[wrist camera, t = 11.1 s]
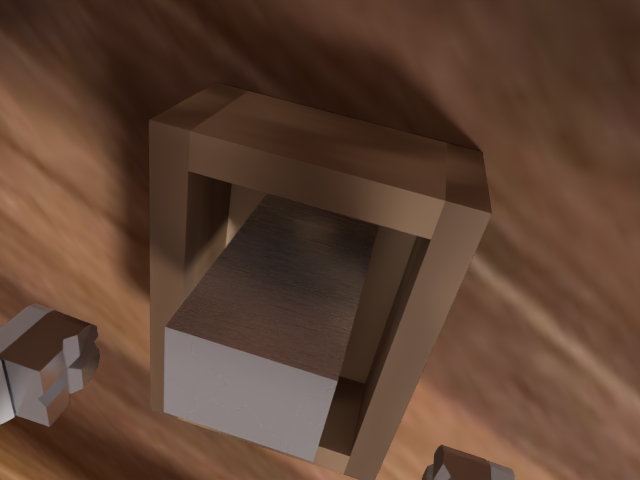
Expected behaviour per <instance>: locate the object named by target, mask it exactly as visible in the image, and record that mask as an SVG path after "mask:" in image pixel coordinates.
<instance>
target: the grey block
mask: <svg viewBox="0 0 640 480" xmlns="http://www.w3.org/2000/svg"><path fill="white" fill-rule="evenodd" d="M378 228H379V225H377V224H374V223H370V222H367V221H363V220H360V219H356V218H353V217H349V216H346V215H342V214H339V213H335V212H331V211H328V210H324V209H321V208H317V207H314V206H310V205H307V204H303V203H300V202H296V201H292V200H289V199H285V198H282V197H278V196H275V195H271V194H268V193H267V194H266V195H265V197H264V198H263V199H262V201H261V202H260V203H259V205H258V206H257V207H256V208H255V210H254V211H253V212H252V214H251V215H250V216H249V218H248V219H247V220H246V222H245V223H244V224H243V225H242V227H241V228H240V229H239V231H238V232H237V233H236V235H235V236H234V237H233V238H232V240H231V241H230V242H229V244H228V245H227V246H226V248H225V249H224V250H223V252H222V253H221V254H220V255H219V257H218V258H217V259H216V261H215V262H214V263H213V265H212V266H211V267H210V269H209V270H208V271H207V272H206V274H205V275H204V276H203V278H202V279H201V280H200V282H199V283H198V284H197V285H196V287H195V288H194V289H193V291H192V292H191V293H190V295H189V296H188V297H187V299H186V300H185V301H184V302H183V304H182V305H181V306H180V308H179V309H178V310H177V312H176V313H175V314H174V316H173V317H172V318H171V319H170V321H169V322H168V323H167V325H166V326H165V355H164V412H165V413H168V414H171V415H174V416H177V417H180V418H183V419H186V420H189V421H192V422H195V423H198V424H201V425H204V426H207V427H210V428H213V429H216V430H219V431H222V432H225V433H228V434H231V435H234V436H237V437H240V438H243V439H246V440H249V441H252V442H255V443H258V444H261V445H264V446H267V447H270V448H273V449H276V450H279V451H282V452H285V453H288V454H291V455H294V456H297V457H300V458H303V459H306V460H308V461H311V462H313V461H314V458H315V455H316V451H317V448H318V445H319V442H320V438H321V435H322V432H323V428H324V425H325V422H326V418H327V415H328V412H329V408H330V405H331V402H332V399H333V395H334V392H335V389H336V385H337V382H338V378H339V375H340V371H341V367H342V363H343V360H344V356H345V352H346V348H347V345H348V341H349V337H350V333H351V329H352V326H353V322H354V318H355V314H356V311H357V307H358V303H359V299H360V296H361V292H362V288H363V284H364V281H365V277H366V273H367V269H368V266H369V262H370V258H371V254H372V250H373V247H374V243H375V239H376V235H377V232H378Z"/></svg>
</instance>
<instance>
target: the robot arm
mask: <svg viewBox="0 0 640 480" xmlns="http://www.w3.org/2000/svg"><path fill="white" fill-rule="evenodd" d="M97 337H98V332H97V326H95V325H92V324H90V323H87V322H84V321H82V320H79V319H77V318H74V317H71V316H69V315H66V314H63V313H61V312H58V311H55V310H53V309H50V308H47V307H44V306H41V305H39V304H33V305H30V306H27V307H26V308H25V309H24V310H22V311H21V312H20V313H19V314H17V315H16V316H15V317H14V318H12V319H11V320H10V321H9V322H7V323H6V324H5V325H4V326H2V327H1V328H0V425H1V424H3V423H5V422H7V421H9V420H10V419H12V418H14V417H15V416H14V415H16V416H19V417H22V418H25V419H28V420H31V421H34V422H37V423H40V424H43V425H45V426H48V427H50V426H51V425H52V424H53V422H54V421H55V420H56V419H57V418H58V417H59V416H60V414H61V413H62V412H63V411H64V410H65V409H66V408H67V407H68V405H69V404H70V396H71V393H74V392H76V391H78V390H81V389H83V388H84V387H85V386H86V385H87V383H88V382H89V381H90V380H91V379H92V377H93V375H94V373H95V371H96V369H97V367H98V363H99V358H100V355H99V349H98V348H97V346H96V345H95V344H94V342H93V341H94V340H95V339H96V338H97ZM422 480H515V474H514V472H513V470H512V469H510V468H508V467H505V466H502V465H499V464H496V463H493V462H490V461H487V460H486V459H483V458H480V457H477V456H474V455H471V454H468V453H465V452H462V451H459V450H456V449H453V448H450V447H447V446H444V445H441V446H439V447H438V449H437V450H436V452H435V454H434V464H432V465H429V466H427V468H426V470H425V472H424V475H423V477H422Z"/></svg>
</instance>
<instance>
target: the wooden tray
mask: <svg viewBox="0 0 640 480" xmlns="http://www.w3.org/2000/svg"><path fill="white" fill-rule="evenodd" d="M267 193H268V194H271V195H275V196H278V197H282V198H285V199H289V200H292V201H296V202H300V203H303V204H307V205H310V206H314V207H317V208H321V209H324V210H328V211H331V212H335V213H339V214H342V215H346V216H349V217H353V218H356V219H360V220H363V221H367V222H370V223H374V224H377V225H379V228H378V232H377V235H376V239H375V243H374V247H373V250H372V254H371V258H370V262H369V266H368V269H367V273H366V277H365V281H364V284H363V288H362V292H361V296H360V299H359V303H358V307H357V311H356V314H355V318H354V322H353V326H352V329H351V333H350V337H349V341H348V345H347V348H346V352H345V356H344V360H343V363H342V367H341V371H340V375H339V378H338V382H337V385H336V389H335V392H334V395H333V399H332V402H331V405H330V408H329V412H328V415H327V418H326V422H325V425H324V428H323V432H322V435H321V438H320V442H319V445H318V448H317V451H316V455H315V458H314V461H313V462H311V461H308V460H306V459H303V458H300V457H297V456H294V455H291V454H288V453H285V452H282V451H279V450H276V449H273V448H270V447H267V446H264V445H261V444H258V443H255V442H252V441H249V440H246V439H243V438H240V437H237V436H234V435H231V434H228V433H225V432H222V431H219V430H216V429H213V428H210V427H207V426H204V425H201V424H198V423H195V422H192V421H189V420H186V419H183V418H180V417H177V416H174V415H171V414H168V413H165V412H164V355H165V326H166V325H167V323H168V322H169V321H170V319H171V318H172V317H173V316H174V314H175V313H176V312H177V310H178V309H179V308H180V306H181V305H182V304H183V302H184V301H185V300H186V299H187V297H188V296H189V295H190V293H191V292H192V291H193V289H194V288H195V287H196V285H197V284H198V283H199V282H200V280H201V279H202V278H203V276H204V275H205V274H206V272H207V271H208V270H209V269H210V267H211V266H212V265H213V263H214V262H215V261H216V259H217V258H218V257H219V255H220V254H221V253H222V252H223V250H224V249H225V248H226V246H227V245H228V244H229V242H230V241H231V240H232V238H233V237H234V236H235V235H236V233H237V232H238V231H239V229H240V228H241V227H242V225H243V224H244V223H245V222H246V220H247V219H248V218H249V216H250V215H251V214H252V212H253V211H254V210H255V208H256V207H257V206H258V205H259V203H260V202H261V201H262V199H263V198H264V197H265V195H266V194H267ZM491 215H492V211H491V204H490V198H489V191H488V185H487V178H486V172H485V165H484V159H483V152H480V151H476V150H472V149H469V148H465V147H461V146H457V145H453V144H449V143H446V142H442V141H438V140H434V139H430V138H427V137H423V136H419V135H415V134H411V133H408V132H404V131H400V130H396V129H392V128H388V127H385V126H381V125H377V124H373V123H369V122H366V121H362V120H358V119H354V118H350V117H346V116H343V115H339V114H335V113H331V112H327V111H324V110H320V109H316V108H312V107H308V106H304V105H301V104H297V103H293V102H289V101H285V100H282V99H278V98H274V97H270V96H266V95H262V94H259V93H255V92H251V91H247V90H243V89H240V88H236V87H232V86H228V85H224V84H220V83H217V82H216V83H214V84H212V85H211V86H209V87H207V88H205V89H203V90H202V91H200V92H198V93H196V94H194V95H193V96H191V97H189V98H187V99H185V100H184V101H182V102H180V103H178V104H176V105H174V106H173V107H171V108H169V109H167V110H165V111H164V112H162V113H160V114H158V115H156V116H155V117H153V118H151V119H149V226H150V382H151V410H153V411H156V412H159V413H162V414H165V415H168V416H171V417H174V418H177V419H180V420H183V421H186V422H189V423H192V424H195V425H198V426H201V427H204V428H207V429H210V430H213V431H216V432H219V433H222V434H225V435H228V436H230V437H233V438H236V439H239V440H242V441H245V442H248V443H251V444H254V445H257V446H260V447H263V448H266V449H269V450H272V451H275V452H278V453H281V454H284V455H287V456H290V457H293V458H296V459H299V460H302V461H305V462H308V463H311V464H314V465H317V466H320V467H323V468H326V469H329V470H332V471H335V472H338V473H341V474H344V475H347V476H350V477H353V478H356V479H359V480H375V479H376V476H377V474H378V472H379V469H380V467H381V465H382V463H383V460H384V458H385V456H386V454H387V451H388V449H389V447H390V444H391V442H392V440H393V438H394V435H395V433H396V431H397V429H398V426H399V424H400V422H401V419H402V417H403V415H404V413H405V410H406V408H407V406H408V404H409V401H410V399H411V397H412V394H413V392H414V390H415V388H416V385H417V383H418V381H419V378H420V376H421V374H422V372H423V369H424V367H425V365H426V363H427V360H428V358H429V356H430V353H431V351H432V349H433V347H434V344H435V342H436V340H437V338H438V335H439V333H440V331H441V328H442V326H443V324H444V322H445V319H446V317H447V315H448V313H449V310H450V308H451V306H452V303H453V301H454V299H455V297H456V294H457V292H458V290H459V288H460V285H461V283H462V281H463V278H464V276H465V274H466V272H467V269H468V267H469V265H470V262H471V260H472V258H473V256H474V253H475V251H476V249H477V247H478V244H479V242H480V240H481V237H482V235H483V233H484V231H485V228H486V226H487V224H488V222H489V219H490V217H491Z"/></svg>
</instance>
